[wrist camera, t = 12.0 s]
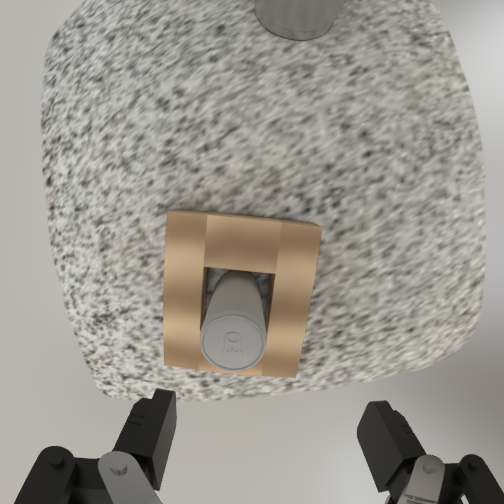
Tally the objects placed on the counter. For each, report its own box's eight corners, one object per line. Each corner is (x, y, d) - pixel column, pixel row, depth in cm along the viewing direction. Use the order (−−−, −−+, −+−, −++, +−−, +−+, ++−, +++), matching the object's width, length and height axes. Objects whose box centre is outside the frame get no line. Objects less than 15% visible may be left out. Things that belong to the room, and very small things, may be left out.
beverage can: (214, 309, 32) (197, 370, 20) (216, 266, 31) (198, 310, 19) (258, 312, 32) (263, 375, 20) (262, 270, 31) (271, 316, 19)
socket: (177, 208, 30) (167, 211, 26) (312, 222, 30) (322, 227, 26) (172, 347, 33) (164, 364, 29) (290, 358, 33) (295, 377, 29)
